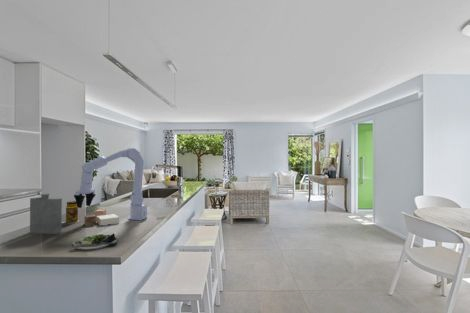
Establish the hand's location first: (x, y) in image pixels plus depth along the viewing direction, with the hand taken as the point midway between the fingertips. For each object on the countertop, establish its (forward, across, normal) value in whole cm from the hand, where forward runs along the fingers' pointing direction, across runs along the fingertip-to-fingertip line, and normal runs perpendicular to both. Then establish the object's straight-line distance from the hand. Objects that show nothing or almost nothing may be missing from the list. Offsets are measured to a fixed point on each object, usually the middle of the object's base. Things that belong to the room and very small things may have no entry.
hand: (83, 206), depth 162 cm
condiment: (+11, -4, -10) cm, 15 cm away
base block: (+9, -6, +12) cm, 16 cm away
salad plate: (+10, +29, +30) cm, 43 cm away
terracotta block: (+9, -16, +1) cm, 18 cm away
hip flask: (+12, +18, -7) cm, 23 cm away
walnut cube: (+10, -1, +5) cm, 11 cm away
